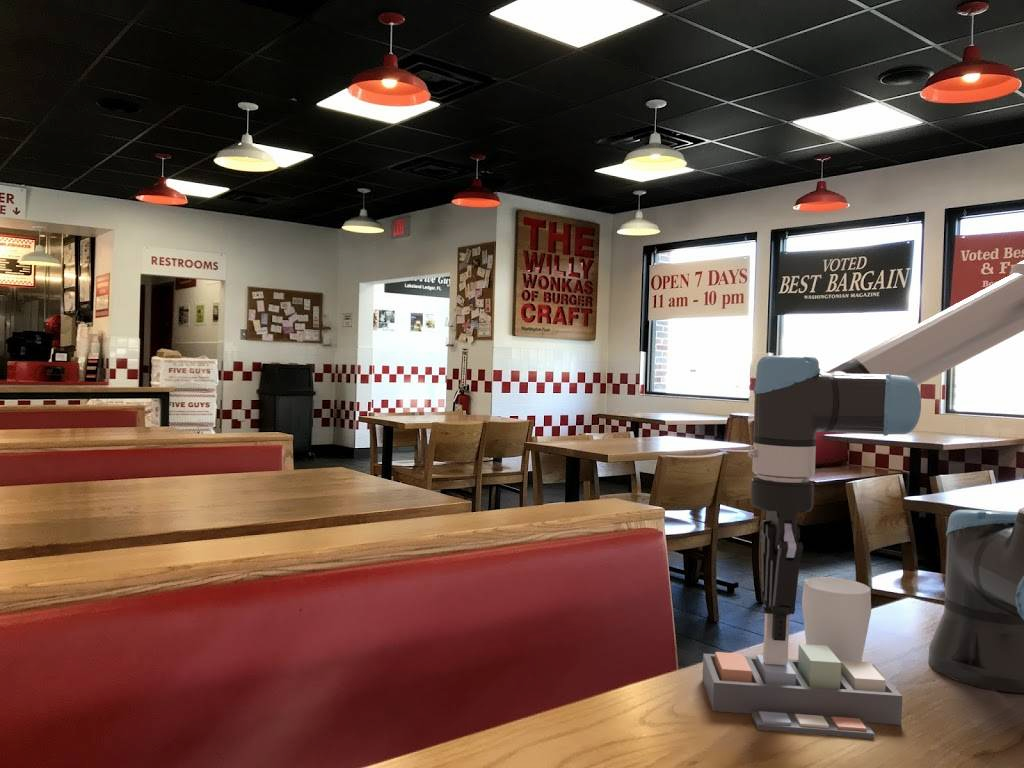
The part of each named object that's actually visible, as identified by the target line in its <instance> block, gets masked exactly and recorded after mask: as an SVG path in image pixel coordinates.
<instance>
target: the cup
mask: <svg viewBox="0 0 1024 768" xmlns="http://www.w3.org/2000/svg"><path fill="white" fill-rule="evenodd" d="M871 594H872V593H871V588H870V586H868V585H867V584H865V583H861V582H858V581H856V580H851V579H847V578H839V577H831V576H816V577H809V578H805V579H804V581H803V590H802V597H801V606H802V617H803V626H804V635H805V644H808V645H823V646H828V647H829V648H830V650H831V651H832V652H833V653H834V655H835V656H836V657H837V658H838V659H839V661H840V660H843V661H858V662H863V661H862V660H863V656H864V650H865V645H866V639H867V636H868V632H869V631H868V630H869V625H870V620H871V616H872V604H871V603H872V601H871V597H872V595H871Z"/></svg>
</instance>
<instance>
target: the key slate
mask: <svg viewBox="0 0 1024 768" xmlns="http://www.w3.org/2000/svg"><path fill="white" fill-rule="evenodd" d="M755 657H756V669H757V671H758V673H759V675H760V677H761V679H762V681H763V683H764V684H776V685H790V686H796V673H795V672H794V670H793V669H792V667H791V665H790V664H789V662H788V665H777V664H765V662H764V660H763V654H756V656H755Z"/></svg>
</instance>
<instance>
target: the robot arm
mask: <svg viewBox="0 0 1024 768" xmlns="http://www.w3.org/2000/svg"><path fill="white" fill-rule="evenodd" d="M1022 332H1024V259H1023V260H1021V261H1020V262H1017V263H1016V264H1014V265H1013V266H1012V267H1011V269H1010V272H1009V276H1007V277H1004V278H1003V279H1001V280H999V281H997V282H995V283H994V284H991V285H990V286H988V287H986V288H984V289H982V290H980V291H978V292H976V293H974V294H973V295H971V296H969V297H967V298H964V299H963V300H961V301H959V302H957V303H955V304H953V305H951V306H949V307H948V308H946V309H944V310H942V311H940V312H938V313H936V314H934V315H932V316H931V317H929V318H927V319H924V320H923V321H921V322H918V323H917V324H915V325H913V326H912V327H909V328H908V329H905V330H904V331H902V332H900V333H898V334H897V335H895V336H892V337H890V338H889V339H887V340H885V341H883V342H882V343H879V344H878V345H876V346H875V345H874V346H873V347H872V348H870V349H868V350H866V351H864V352H862V353H860V354H859V355H856V356H854V357H853V358H852V359H850V360H848V361H846V362H843V363H841V364H839V365H838V366H835V367H834V368H832V369H830V370H828V371H821V368H820V366H819V365H820V362H819V360H818V358H817V357H815V356H803V355H802V356H800V355H766V356H763V357H762V358H760V359H759V360H758V361H757V366H756V373H755V383H754V389H753V394H754V405H753V407H754V410H753V417H754V418H753V439H752V440H753V449H750V450H748V452H747V454H748V455H747V456H748V457H749V458H752V466H751V467H752V468H751V471H752V473H754V474H755V475H756V476H754V477H752V479H751V484H750V486H751V487H750V504H751V506H752V507H754V508H756V509H758V510H762V511H765V512H766V513H765V520H762V521H761V522H760V525H759V531H760V540H761V545H760V546H761V547H760V549H761V550H760V551H761V593H760V595H761V598H762V599H763V600H764V601H763V605H764V606H763V607H762V613H763V614H764V625H763V626H764V627H763V628H764V629H763V652H762V653H763V654H762V655H763V660H764V662H765V664H777V665H788V659H789V637H790V635H789V634H790V615H794V614H795V612H796V603H797V602H796V601H797V591H798V582H799V574H800V573H799V572H800V564H801V558H802V554H803V550H804V545H803V542H801V541H800V539H801V528H800V525H798V524H797V518H796V517H797V514H799V513H809V512H811V511H812V510H813V508H814V495H815V494H814V491H815V484H814V483H813V481H811V480H810V479H811V478H813V477H814V476H815V475H816V454H817V453H816V452H817V449H816V448H817V443H816V442H817V439H816V437H817V433H818V432H819V433H820V432H821V433H845V434H861V435H862V434H864V435H865V434H868V435H883V436H884V437H885V436H888V435H908V434H909V433H911V432H913V430H914V429H915V428H916V427H917V425H918V423H919V420H920V417H921V412H922V409H921V408H922V395H921V392H920V388H919V386H920V385H922V384H923V383H925V382H928V381H929V380H931V379H933V378H935V377H937V376H939V375H940V374H943V373H945V372H947V371H948V370H950V369H952V368H955V367H956V366H958V365H960V364H962V363H964V362H966V361H968V360H969V359H971V358H974V357H975V356H978V355H980V354H981V353H983V352H985V351H987V350H989V349H991V348H993V347H995V346H997V345H999V344H1000V343H1003V342H1005V341H1006V340H1009V339H1010V338H1012V337H1015V336H1017V335H1018V334H1020V333H1022ZM945 536H946V549H945V550H946V553H945V554H946V555H945V558H946V559H945V579H944V580H945V581H944V582H945V584H944V585H945V586H944V607H943V613H942V615H941V617H940V620H939V622H938V625H937V627H936V629H935V632H934V634H933V636H932V638H931V641H930V643H929V647H928V664H929V665H930V667H932V668H933V669H934V670H935V671H937V672H938V673H940V674H942V675H943V676H946V677H947V678H950V679H953V680H954V681H958V682H961V683H963V684H968V685H969V686H974V687H978V688H982V689H987V690H992V691H996V692H997V691H999V692H1002V693H1003V692H1005V693H1015V694H1024V506H1023V507H1022V508H1019V509H1018V511H1005V510H1004V511H1003V510H983V509H982V510H981V509H980V510H979V509H957V510H954V511H952V512H951V514H950V515H949V518H948V523H947V529H946V533H945Z"/></svg>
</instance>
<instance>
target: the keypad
mask: <svg viewBox="0 0 1024 768" xmlns="http://www.w3.org/2000/svg"><path fill="white" fill-rule="evenodd" d="M702 655H703V656H702V657H703V658H702V682H703V686H704V688H705V691H706V695H707V697H708V700H709V703H710V706H711V709H712V711H713V712H719V713H720V712H724V713H732V714H734V713H736V714H738V713H739V714H747V715H748V714H750V715H752V711H754V712H759V711H764V712H777V713H787V714H794V715H795V714H804V715H818V716H823V717H845V718H858V719H861V720H865V722H866V723H867V724H882V725H884V724H885V725H893V726H895V725H896V726H897V725H898V726H901V725H902V718H903V717H902V714H903V712H902V711H903V695H902V694H901V692H900V691H898V689H896V687H895V686H894V685H893V684H892V683H891V682H890V681H889V679H887V677H885V675H884V674H883V673H882V672H881V671H880V670H879V669H878V668H877V667H876V666H875V665H874V664H871V665H872V666H873V667H874V668H875V669H876V670H877V671H878V672H879V673H880V675H881V676H882V677H883V678H884V679H885V680H886V688H885V692H875V691H861V690H854V689H853V688H852V687H851V686H850V684H849V683H848V682H847V680H846V679H845V678H844V677H843V675H842V674H841V681H840V689H832V688H818V687H809V686H808V685H807V683H806V682H805V680H804V679H803V677H802V676H801V674H800V673H799V671H798V659H791V658H788V662H789V664H790V665H791V667H792V669H793V670H794V672H795V673H796V686H790V685H776V684H764V683H763V681H762V679H761V677H760V675H759V673H758V671H757V669H756V656H747V655H746V656H745V655H744V656H745V658H746V660H747V662H748V664H749V666H750V668H751V670H752V682H751V683H747V682H733V681H720V680H719V677H718V675H717V672H716V670H715V653H703V654H702Z"/></svg>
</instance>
